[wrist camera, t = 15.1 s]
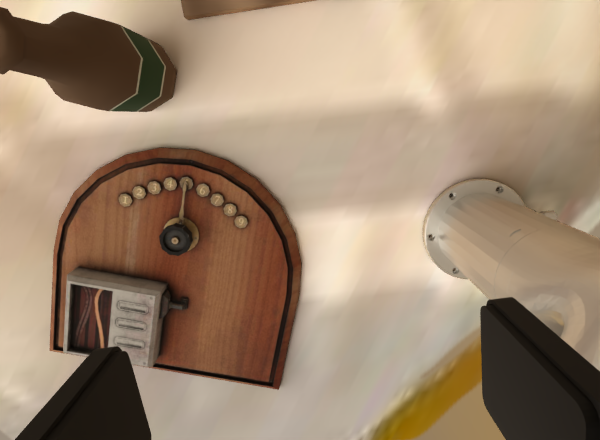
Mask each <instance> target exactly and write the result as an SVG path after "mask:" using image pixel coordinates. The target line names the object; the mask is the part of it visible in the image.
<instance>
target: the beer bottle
mask: <svg viewBox="0 0 600 440" xmlns="http://www.w3.org/2000/svg"><path fill="white" fill-rule="evenodd" d="M9 70H12V71H16V72H20V73H24V74H29V75H33V76H37V77H41V78H43V79H45V80H46V81H47V82H48V84H49V85H50V87H51V88H52V89H53V91H54V92H55V94H56V95H58V96H59V97H60V98H61V99H63V100H65V101H68V102H72V103H76V104H80V105H84V106H88V107H91V108H95V109H99V110H105V111H131V112H148V111H152V110H154V109H155V108H157V107H158V106H160V105H162V104H163V103H165V102H166V101H168V100H169V99H171V98H172V97H173V92H174V86H175V80H176V74H177V70H176V69H175V67H174V65H173V64H172V62H171V61H170V59H169V57H168V56H167V54H166V53H165V51H164V49H163V48H162V47H161V46H160V45H159V44H157V43H155V42H153V41H151V40H149V39H147V38H145V37H143V36H141V35H139V34H137V33H135V32H133V31H131V30H129V29H127V28H125V27H123V26H121V25H118V24H115V23H112V22H109V21H105V20H102V19H98V18H94V17H91V16H87V15H84V14H80V13H76V12H69V13H66V14H63V15H62V16H60V17H59V18H57V19H56V20H55V21H53V22H52V23H50V24H41V23H37V22H33V21H29V20H25V19H21V18H17V17H13V16H12V15H11V13H10V12H9V11H8V9H5V8H1V7H0V74H5V73H6V72H7V71H9Z"/></svg>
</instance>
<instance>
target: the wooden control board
mask: <svg viewBox="0 0 600 440" xmlns="http://www.w3.org/2000/svg"><path fill="white" fill-rule="evenodd" d="M300 277H301V259H300V254H299V250H298V245H297V240H296V236H295V232H294V230H293V228H292V226H291V224H290V223H289V221H288V219H287V217H286V215H285V213H284V211H283V209H282V207H281V205H280V204H279V203H278V202H277V201H276V199H275V198H274V197H273V196H272V195H271V194H270V193H269V192H268V191H267V190H266V188H265V187H264V186H263V185H262V184H261V183H260V182H259V181H258V180H257V179H256V178H254V177H253V176H251V175H249V174H248V173H246V172H245V171H243V170H242V169H240V168H239V167H237V166H236V165H234V164H233V163H231V162H229V161H227V160H224V159H221V158H218V157H215V156H212V155H209V154H206V153H203V152H200V151H197V150H190V149H175V148H156V149H152V150H147V151H142V152H137V153H132V154H127V155H125V156H123V157H121V158H119V159H117V160H115V161H113V162H111V163H109V164H107V165H106V166H104V167H102V168H100V169H98V170H96V171H95V172H94V173H93V174H92V175H91V176H90V177H89V178H88V179H87V180H86V181H85V182H84V183H83V184H82V185H81V186H80V187H79V188H78V189H77V190H76V191H75V192H74V193H73V195H72V197H71V199H70V201H69V203H68V205H67V207H66V209H65V210H64V212H63V214H62V216H61V218H60V220H59V225H58V230H57V236H56V241H55V246H54V258H53V282H52V306H51V331H50V351H54V352H60V353H66V354H72V355H78V356H84V357H88V356H89V355H90V354H91V352H92V351H93V350H95V349H99V348H107V347H115V346H118V347H120V348H121V349H122V351H126V352H127V353H128V355H129V358H130V361H131V365H137V366H143V367H149V368H155V369H161V370H167V371H172V372H178V373H184V374H190V375H196V376H202V377H208V378H214V379H220V380H226V381H231V382H237V383H243V384H249V385H255V386H261V387H267V388H273V389H279V387H280V382H281V377H282V373H283V368H284V363H285V359H286V354H287V349H288V345H289V340H290V336H291V331H292V326H293V322H294V317H295V312H296V308H297V303H298V298H299V292H300Z"/></svg>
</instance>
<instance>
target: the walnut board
mask: <svg viewBox="0 0 600 440" xmlns="http://www.w3.org/2000/svg"><path fill="white" fill-rule="evenodd" d="M308 1H314V0H181V3H182V8H183V13H184V17H185V18H186V19H188V20H191V19H198V18H204V17H211V16H217V15H224V14H230V13H237V12H243V11H250V10H256V9H263V8H269V7H276V6H282V5H289V4H295V3H302V2H308Z"/></svg>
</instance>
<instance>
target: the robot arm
mask: <svg viewBox="0 0 600 440" xmlns="http://www.w3.org/2000/svg"><path fill="white" fill-rule="evenodd" d="M497 187H498V189H497V190H496V188H497ZM450 193H452V196H451V197H449V195H450ZM556 220H557V214H556V212H555V211H554V210H552V211H544V212H541V213H537V212H536V211H534V210H532V209H529V208H527V207H526V206H525V204H524V202H523V201H522V199H521V198H520V196H519V195H518V194H517V193H516V192H515V191H514V190H513V189H511V188H510V187H508V186H506V185H505V184H502V183H500V182H497V181H493V180H489V179H471V180H466V181H463V182H460V183H457V184H455V185H453V186H452V187H450V188H448V189H447V190H445V191H444V192H443V193H442V194H440V195H439V197H438V198H437V199H436V200H435V201H434V202H433V204H432V205H431V207H430V208H429V210H428V212H427V215H426V217H425V220H424V225H423V241H424V246H425V249H426V251H427V253H428V255H429V257H430V258H431V259H432V261H433V262H434V263H435V264H436V265H437V266H438V267H439V268H440V269H441V270H443V271H444V272H445V273H447V274H449V275H451V276H454V277H457V278H461V279H469V280H470V281H471V282H472V283H473V284H474V285H475V286H476V287H477V288H478V289H479V290H480V291H481V292H482V293H483V294H484V295H485V296H486V297H487V298H489V299H490V300H488V301H487V305H486V306H482V307H481V312H480V315H481V354H482V393H483V399H484V404H485V406H486V409H487V410H488V412H489V414H490V415H491V417H492V418H493V420H494V422H495V423H496V425H497V426H498V428H499V430H500V431H501V433H502V434H503V436H504V437H505V439H506V440H600V238H598V237H595V236H593V235H590V234H588V233H586V232H583V231H581V230H578V229H575V228H573V227H571V226H568V225H566V224H563V223H561V222H559V221H556ZM430 234H431V236H430V237H428V236H429V235H430ZM454 268H455V269H454ZM453 269H454V270H453ZM15 440H151V432H150V428H149V425H148V421H147V418H146V414H145V411H144V407H143V404H142V400H141V397H140V393H139V389H138V386H137V382H136V379H135V375H134V372H133V368H132V365H131V361H130V358H129V355H128V353H127V352H126V351H122V349H121V348H120V347H118V346H115V347H107V348H99V349H95V350H93V351H92V352H91V354H90V355H89V356H88V357H87V358H86V359H85V360H84V362H83V363H82V364H81V365H80V366H79V367H78V368H77V369H76V371H75V372H74V373H73V374H72V375H71V376H70V377H69V379H68V380H67V381H66V382H65V383H64V384H63V385H62V387H61V388H60V389H59V390H58V391H57V392H56V393H55V395H54V396H53V397H52V398H51V399H50V400H49V401H48V403H47V404H46V405H45V406H44V407H43V408H42V409H41V411H40V412H39V413H38V414H37V415H36V416H35V417H34V418H33V420H32V421H31V422H30V423H29V424H28V425H27V426H26V428H25V429H24V430H23V431H22V432H21V433H20V434H19V436H18V437H17V438H16V439H15Z"/></svg>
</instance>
